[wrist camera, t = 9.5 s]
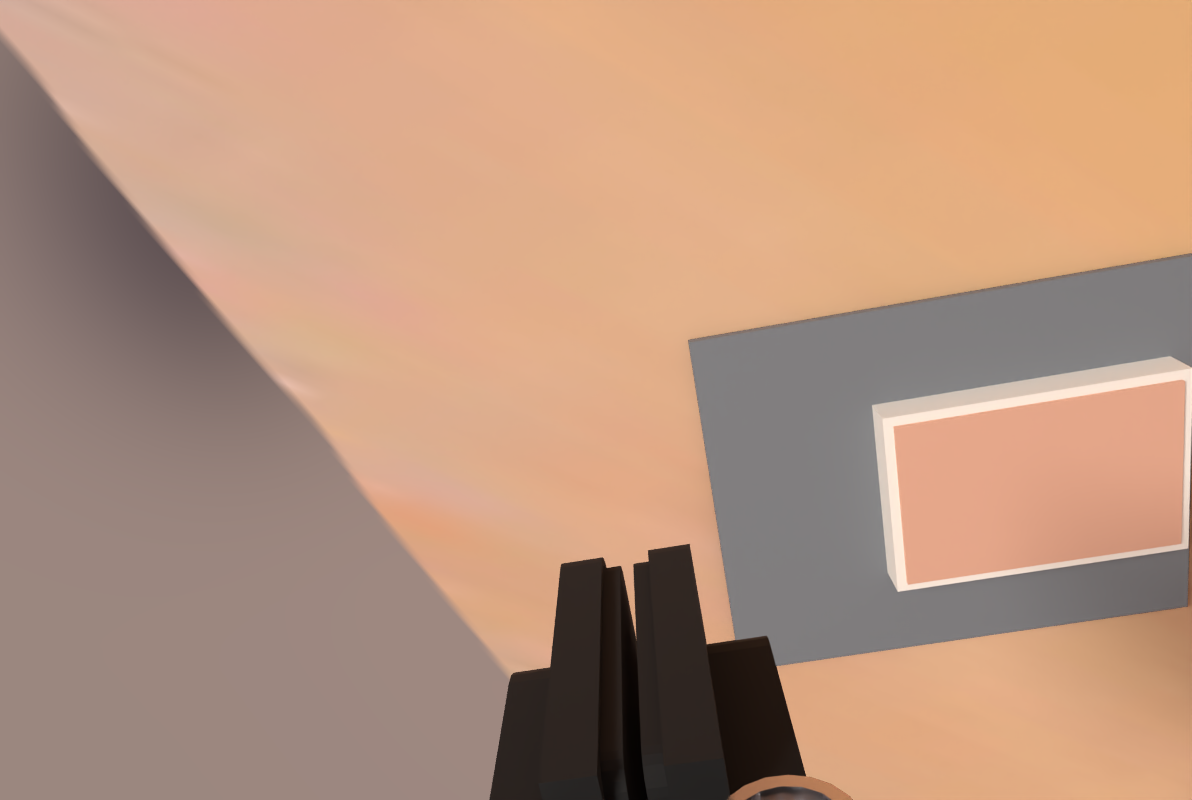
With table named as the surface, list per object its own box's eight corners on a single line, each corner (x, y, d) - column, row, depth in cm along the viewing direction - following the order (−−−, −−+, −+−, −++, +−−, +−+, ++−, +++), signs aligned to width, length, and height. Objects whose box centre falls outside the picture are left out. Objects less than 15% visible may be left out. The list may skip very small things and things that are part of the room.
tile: (872, 405, 39) (1170, 356, 38) (887, 572, 42) (1167, 530, 41) (883, 420, 38) (1196, 369, 37) (899, 594, 40) (1191, 550, 39)
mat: (1190, 253, 37) (1196, 255, 37) (1182, 601, 43) (1187, 606, 42) (687, 340, 39) (688, 342, 38) (739, 666, 44) (740, 671, 44)
